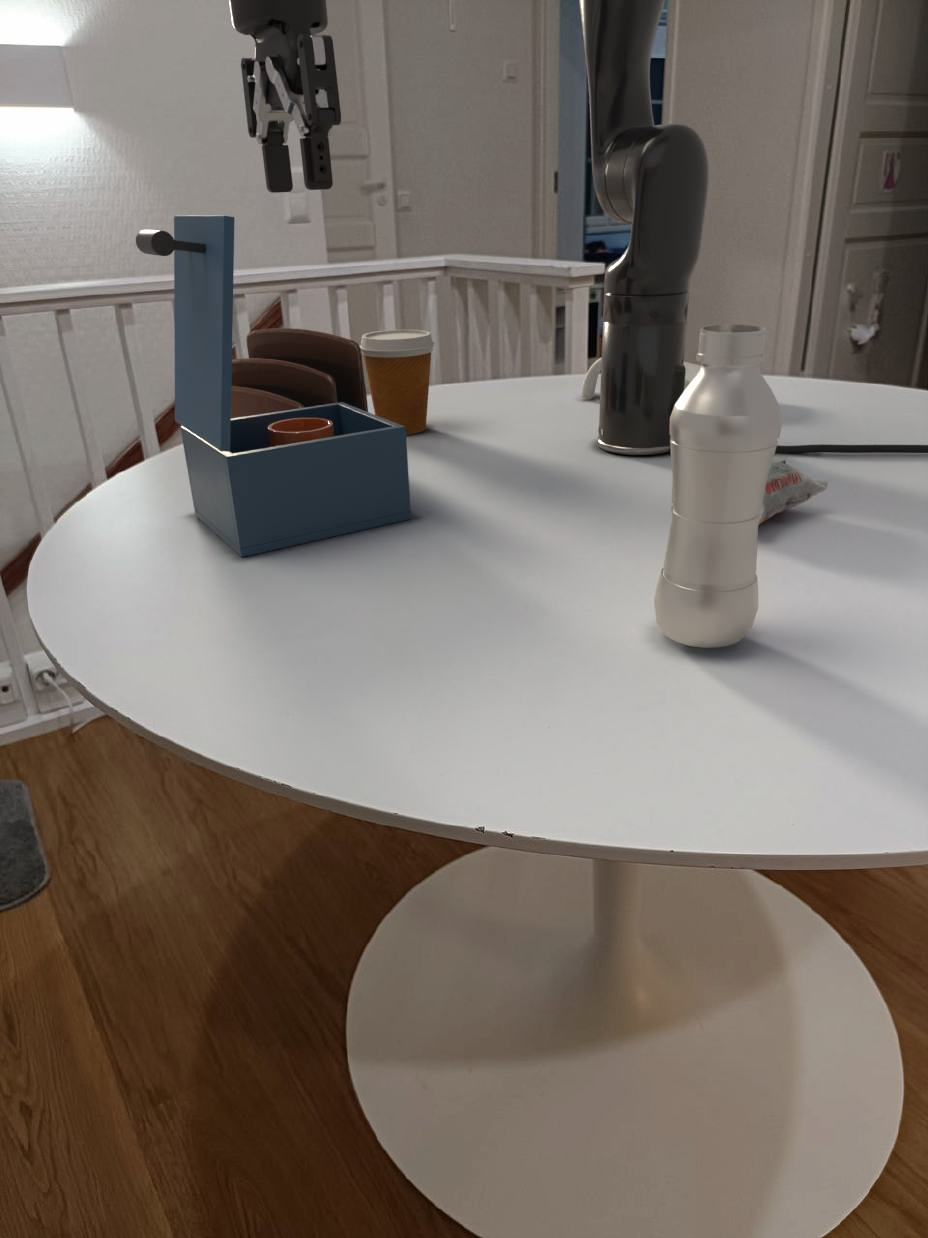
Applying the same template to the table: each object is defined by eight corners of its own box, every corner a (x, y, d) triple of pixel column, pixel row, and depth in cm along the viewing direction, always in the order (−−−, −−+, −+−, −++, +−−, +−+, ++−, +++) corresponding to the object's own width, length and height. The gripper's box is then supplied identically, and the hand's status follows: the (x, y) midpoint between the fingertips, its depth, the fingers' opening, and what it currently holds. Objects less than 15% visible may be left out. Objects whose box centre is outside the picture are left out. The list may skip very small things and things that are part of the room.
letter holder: (264, 436, 114) (249, 322, 108) (374, 459, 103) (365, 333, 96) (200, 453, 107) (180, 333, 101) (310, 479, 96) (296, 345, 89)
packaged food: (824, 511, 81) (831, 458, 79) (753, 544, 74) (759, 488, 72) (741, 493, 87) (745, 443, 85) (668, 522, 80) (671, 469, 78)
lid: (183, 216, 76) (122, 208, 73) (234, 216, 65) (166, 206, 63) (183, 421, 82) (127, 420, 79) (230, 451, 71) (167, 451, 69)
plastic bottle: (640, 620, 62) (659, 323, 53) (734, 614, 62) (767, 318, 54) (667, 663, 56) (692, 338, 48) (770, 656, 57) (814, 333, 48)
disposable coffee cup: (428, 439, 110) (423, 339, 105) (356, 437, 112) (347, 340, 107) (445, 421, 118) (441, 328, 113) (377, 420, 120) (370, 329, 115)
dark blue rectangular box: (349, 485, 93) (342, 401, 90) (411, 519, 83) (405, 426, 79) (195, 515, 86) (179, 426, 82) (241, 557, 75) (226, 456, 71)
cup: (346, 498, 87) (339, 417, 83) (331, 518, 81) (322, 432, 78) (289, 497, 87) (279, 417, 84) (269, 517, 82) (258, 432, 79)
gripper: (357, -60, 64) (376, 187, 71) (284, -19, 75) (306, 191, 82) (259, -70, 61) (289, 190, 68) (198, -26, 72) (229, 194, 79)
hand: (298, 190), depth 75 cm, fingers open, 8 cm apart
